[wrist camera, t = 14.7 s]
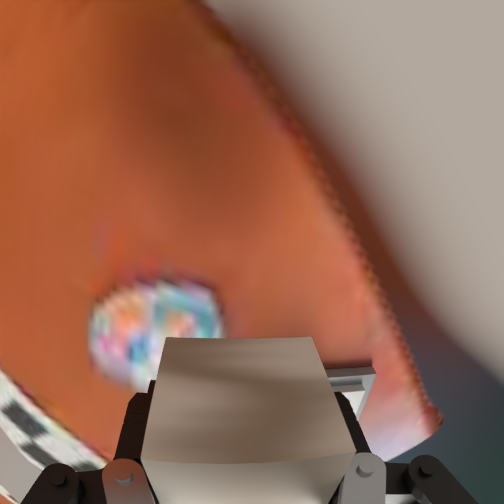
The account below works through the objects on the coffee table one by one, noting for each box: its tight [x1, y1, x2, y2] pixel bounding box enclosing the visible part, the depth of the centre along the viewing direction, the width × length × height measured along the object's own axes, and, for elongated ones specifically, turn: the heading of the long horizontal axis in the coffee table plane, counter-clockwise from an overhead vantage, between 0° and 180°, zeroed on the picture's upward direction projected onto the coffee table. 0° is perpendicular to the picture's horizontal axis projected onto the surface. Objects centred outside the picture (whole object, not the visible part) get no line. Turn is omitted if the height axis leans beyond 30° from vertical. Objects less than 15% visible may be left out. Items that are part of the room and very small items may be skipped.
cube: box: [141, 337, 356, 504], centre depth 9 cm, size 5×5×5 cm
